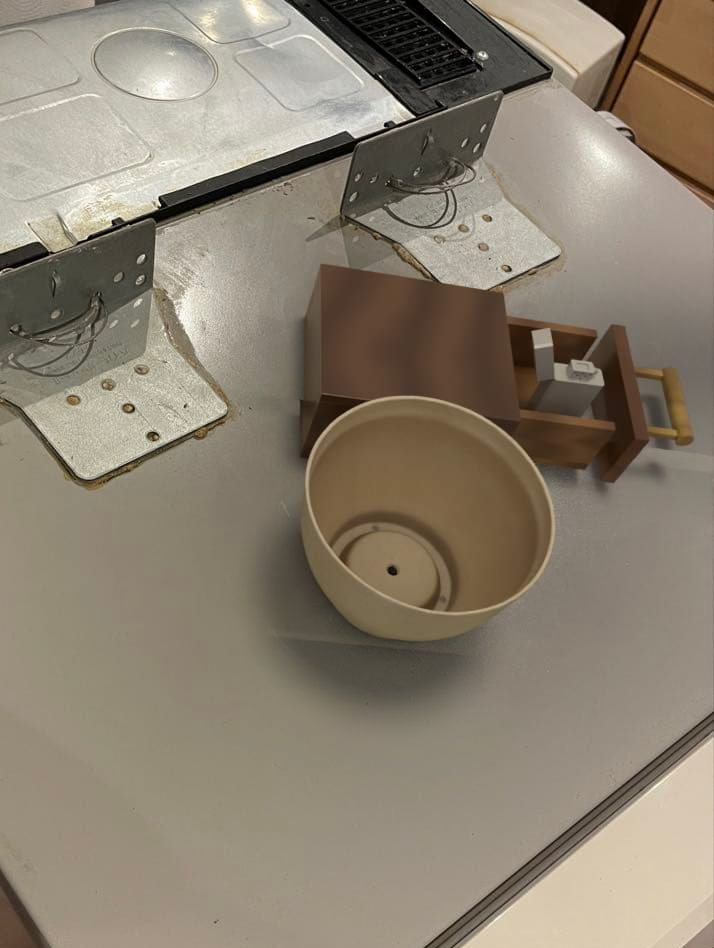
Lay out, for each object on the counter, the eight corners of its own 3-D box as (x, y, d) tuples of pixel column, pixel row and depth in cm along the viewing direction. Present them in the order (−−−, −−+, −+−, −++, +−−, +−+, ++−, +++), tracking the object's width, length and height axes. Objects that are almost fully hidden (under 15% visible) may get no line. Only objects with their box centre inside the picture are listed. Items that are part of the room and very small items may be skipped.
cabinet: (470, 356, 83) (503, 292, 77) (483, 480, 77) (521, 421, 70) (300, 331, 81) (320, 262, 74) (299, 457, 74) (321, 394, 68)
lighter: (577, 403, 80) (623, 336, 74) (580, 420, 79) (628, 354, 73) (494, 392, 79) (534, 324, 72) (497, 409, 78) (537, 342, 71)
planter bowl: (449, 473, 76) (502, 384, 67) (525, 663, 69) (595, 592, 60) (250, 497, 71) (277, 404, 62) (308, 705, 64) (349, 634, 55)
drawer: (648, 380, 85) (684, 335, 80) (673, 491, 79) (713, 449, 74) (441, 350, 82) (465, 300, 77) (451, 462, 76) (477, 417, 71)
